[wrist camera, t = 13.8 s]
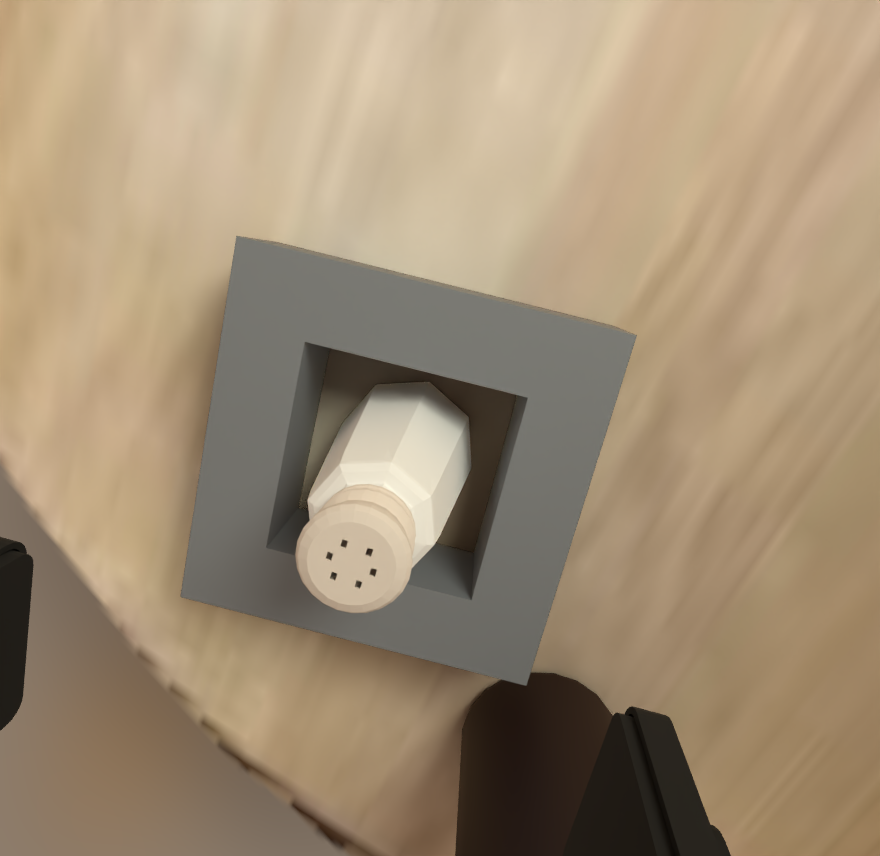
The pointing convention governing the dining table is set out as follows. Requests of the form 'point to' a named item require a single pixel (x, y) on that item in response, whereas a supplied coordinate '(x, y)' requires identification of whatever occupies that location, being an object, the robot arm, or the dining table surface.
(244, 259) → the frame
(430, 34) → the dining table surface
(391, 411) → the pepper shaker
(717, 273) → the dining table surface
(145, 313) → the dining table surface
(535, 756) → the dark brown water bottle
